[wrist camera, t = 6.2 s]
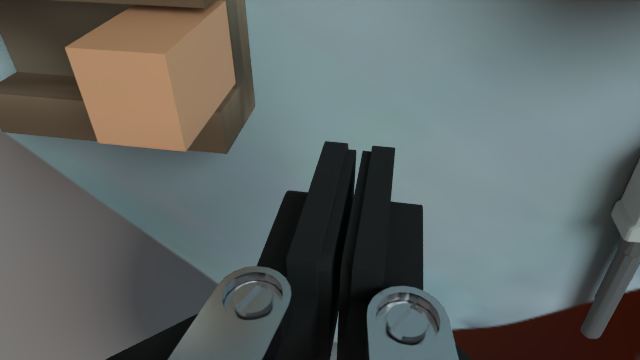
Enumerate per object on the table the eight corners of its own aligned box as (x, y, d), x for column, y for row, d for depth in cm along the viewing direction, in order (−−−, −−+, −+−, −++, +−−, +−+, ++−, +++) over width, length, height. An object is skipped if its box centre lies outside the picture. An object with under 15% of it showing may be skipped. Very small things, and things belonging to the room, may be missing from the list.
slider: (147, -4, 17) (65, 47, 13) (225, 0, 16) (164, 53, 13) (165, 77, 19) (98, 143, 15) (235, 82, 18) (185, 151, 14)
